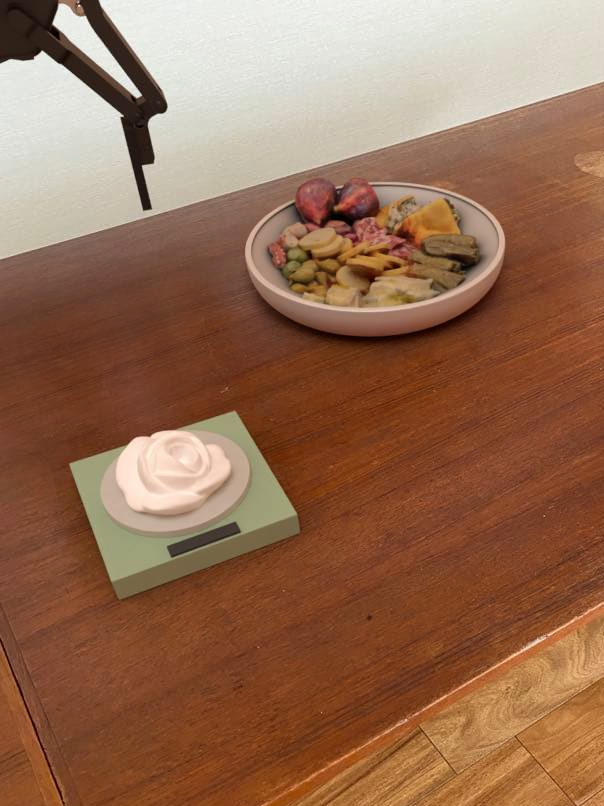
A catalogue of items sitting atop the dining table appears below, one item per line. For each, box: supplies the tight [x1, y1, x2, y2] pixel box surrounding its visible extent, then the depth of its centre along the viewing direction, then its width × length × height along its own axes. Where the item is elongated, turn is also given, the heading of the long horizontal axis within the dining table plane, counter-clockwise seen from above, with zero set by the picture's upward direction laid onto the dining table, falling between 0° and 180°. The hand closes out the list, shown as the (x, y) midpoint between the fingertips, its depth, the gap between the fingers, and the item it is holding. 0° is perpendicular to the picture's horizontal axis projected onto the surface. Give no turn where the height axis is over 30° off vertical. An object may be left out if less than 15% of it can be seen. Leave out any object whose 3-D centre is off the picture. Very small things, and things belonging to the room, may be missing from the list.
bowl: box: [244, 177, 506, 337], centre depth 101 cm, size 30×30×8 cm
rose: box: [116, 430, 232, 515], centre depth 74 cm, size 10×4×10 cm
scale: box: [68, 410, 301, 601], centre depth 77 cm, size 16×16×3 cm
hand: (62, 216), depth 71 cm, fingers open, 13 cm apart
